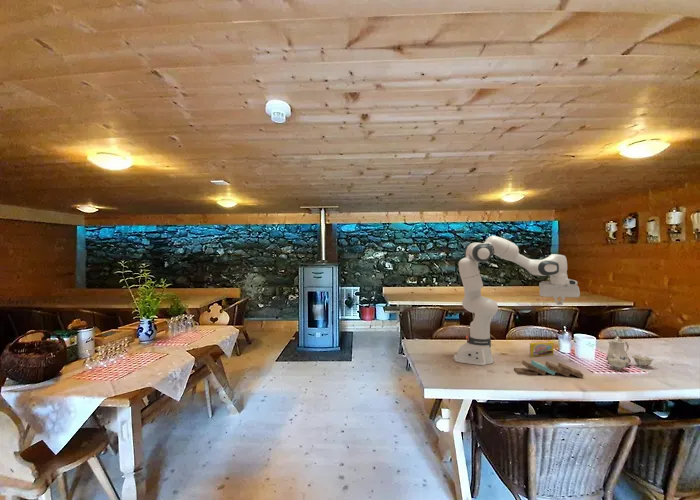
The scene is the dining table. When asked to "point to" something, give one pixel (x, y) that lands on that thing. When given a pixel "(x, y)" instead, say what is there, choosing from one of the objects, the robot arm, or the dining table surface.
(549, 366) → the domino
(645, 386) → the dining table surface
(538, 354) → the candy box
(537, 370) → the domino
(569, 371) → the domino
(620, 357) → the chinaware
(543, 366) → the placed domino
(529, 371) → the domino
